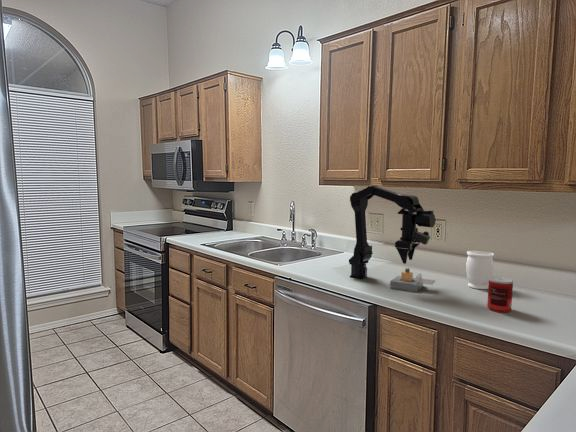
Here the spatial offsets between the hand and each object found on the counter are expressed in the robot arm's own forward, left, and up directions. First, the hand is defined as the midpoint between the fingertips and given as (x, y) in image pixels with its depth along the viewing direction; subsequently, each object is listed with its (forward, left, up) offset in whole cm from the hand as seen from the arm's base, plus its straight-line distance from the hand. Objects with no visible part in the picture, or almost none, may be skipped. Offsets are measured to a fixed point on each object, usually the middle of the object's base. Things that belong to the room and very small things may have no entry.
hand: (407, 261), depth 171 cm
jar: (+26, +17, -11) cm, 33 cm away
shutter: (+8, 0, -8) cm, 11 cm away
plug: (0, 0, -10) cm, 10 cm away
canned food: (+36, -11, -11) cm, 39 cm away
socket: (0, 0, -11) cm, 11 cm away
